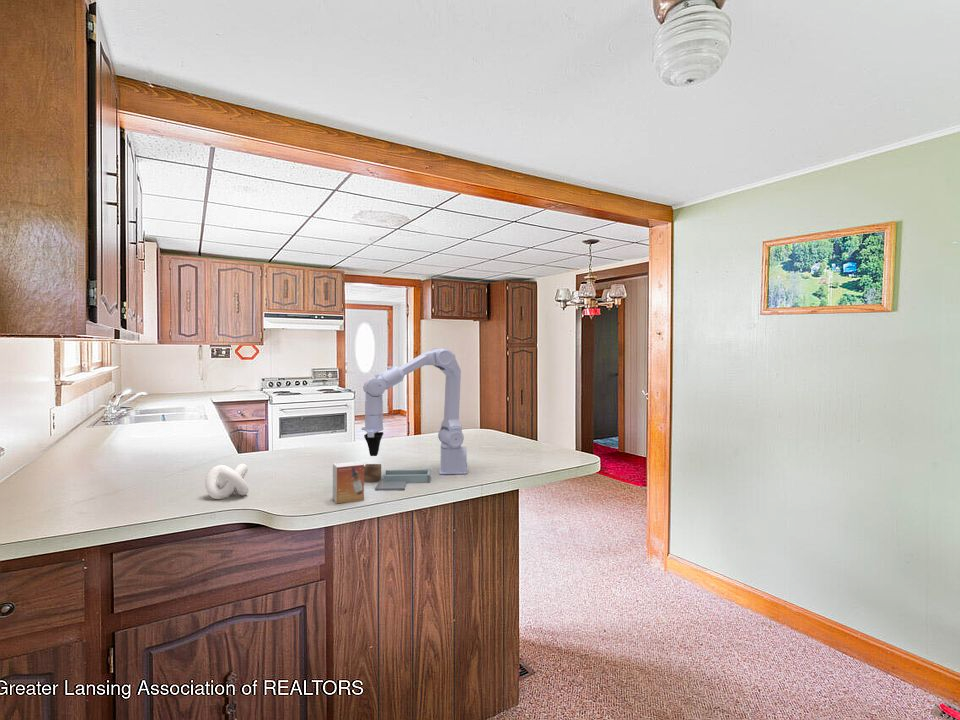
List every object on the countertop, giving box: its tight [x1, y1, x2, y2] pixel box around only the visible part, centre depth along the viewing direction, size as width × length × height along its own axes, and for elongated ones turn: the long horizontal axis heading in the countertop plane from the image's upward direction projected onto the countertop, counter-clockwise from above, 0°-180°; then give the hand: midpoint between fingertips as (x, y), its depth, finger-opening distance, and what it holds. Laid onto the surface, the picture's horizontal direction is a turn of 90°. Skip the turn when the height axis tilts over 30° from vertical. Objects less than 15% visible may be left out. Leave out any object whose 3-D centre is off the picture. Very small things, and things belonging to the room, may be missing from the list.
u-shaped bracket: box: [382, 469, 431, 484], centre depth 164 cm, size 15×7×2 cm, turn 94°
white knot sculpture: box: [204, 463, 250, 500], centre depth 146 cm, size 11×12×9 cm
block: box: [364, 463, 382, 483], centre depth 164 cm, size 5×4×5 cm
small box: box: [332, 460, 365, 504], centre depth 143 cm, size 8×6×10 cm
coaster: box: [374, 480, 408, 492], centre depth 157 cm, size 9×9×1 cm
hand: (374, 455), depth 163 cm, fingers closed
